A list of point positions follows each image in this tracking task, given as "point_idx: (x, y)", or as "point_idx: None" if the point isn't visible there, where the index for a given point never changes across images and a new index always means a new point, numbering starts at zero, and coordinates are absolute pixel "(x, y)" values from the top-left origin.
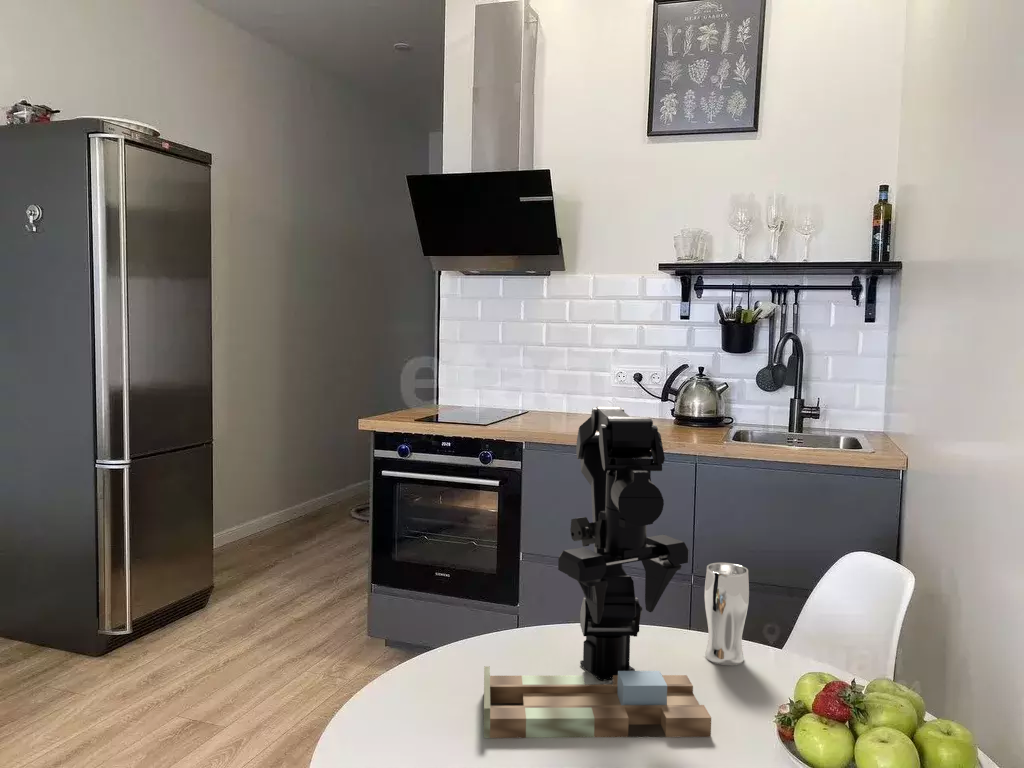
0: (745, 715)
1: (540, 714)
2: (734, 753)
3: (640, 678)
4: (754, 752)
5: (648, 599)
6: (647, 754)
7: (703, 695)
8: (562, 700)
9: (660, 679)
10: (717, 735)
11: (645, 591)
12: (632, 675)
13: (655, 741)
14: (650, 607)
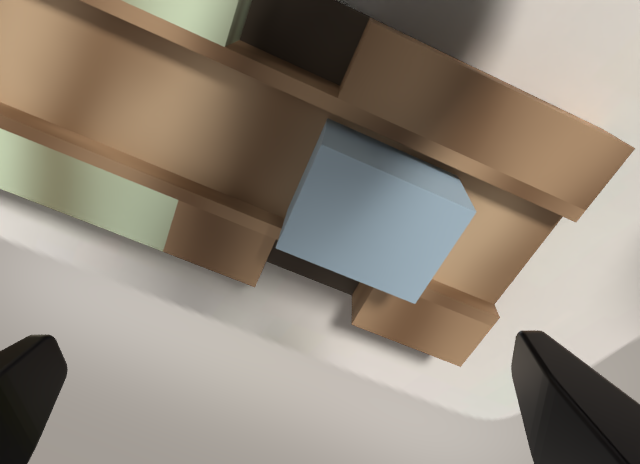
0: (620, 300)
1: (10, 172)
2: (444, 388)
3: (365, 230)
4: (485, 401)
5: (547, 430)
6: (269, 324)
7: (632, 169)
8: (127, 72)
9: (426, 263)
10: None
11: (596, 439)
12: (352, 199)
13: (317, 295)
14: (523, 397)
